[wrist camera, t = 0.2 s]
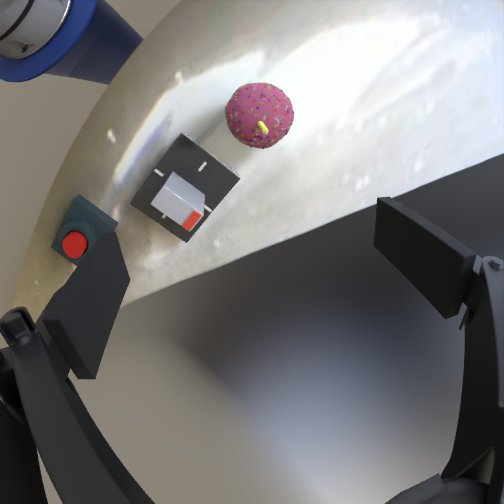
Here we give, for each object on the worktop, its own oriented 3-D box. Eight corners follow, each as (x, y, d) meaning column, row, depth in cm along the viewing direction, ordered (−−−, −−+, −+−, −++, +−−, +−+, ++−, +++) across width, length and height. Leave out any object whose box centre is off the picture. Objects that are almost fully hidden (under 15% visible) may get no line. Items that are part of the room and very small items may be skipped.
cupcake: (276, 149, 40) (300, 163, 29) (217, 137, 38) (220, 147, 28) (290, 93, 36) (320, 87, 26) (231, 79, 35) (238, 65, 24)
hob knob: (161, 186, 37) (149, 204, 30) (172, 171, 37) (163, 186, 29) (193, 209, 39) (189, 233, 32) (205, 195, 39) (204, 215, 31)
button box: (79, 194, 39) (68, 202, 35) (118, 222, 42) (111, 233, 38) (56, 241, 41) (46, 252, 38) (92, 267, 44) (84, 279, 41)
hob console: (183, 131, 37) (181, 132, 34) (238, 174, 41) (240, 178, 38) (135, 197, 40) (129, 203, 38) (188, 234, 44) (186, 243, 41)
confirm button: (72, 226, 37) (67, 231, 35) (90, 240, 38) (86, 245, 37) (63, 244, 38) (59, 249, 36) (81, 257, 39) (77, 262, 38)
